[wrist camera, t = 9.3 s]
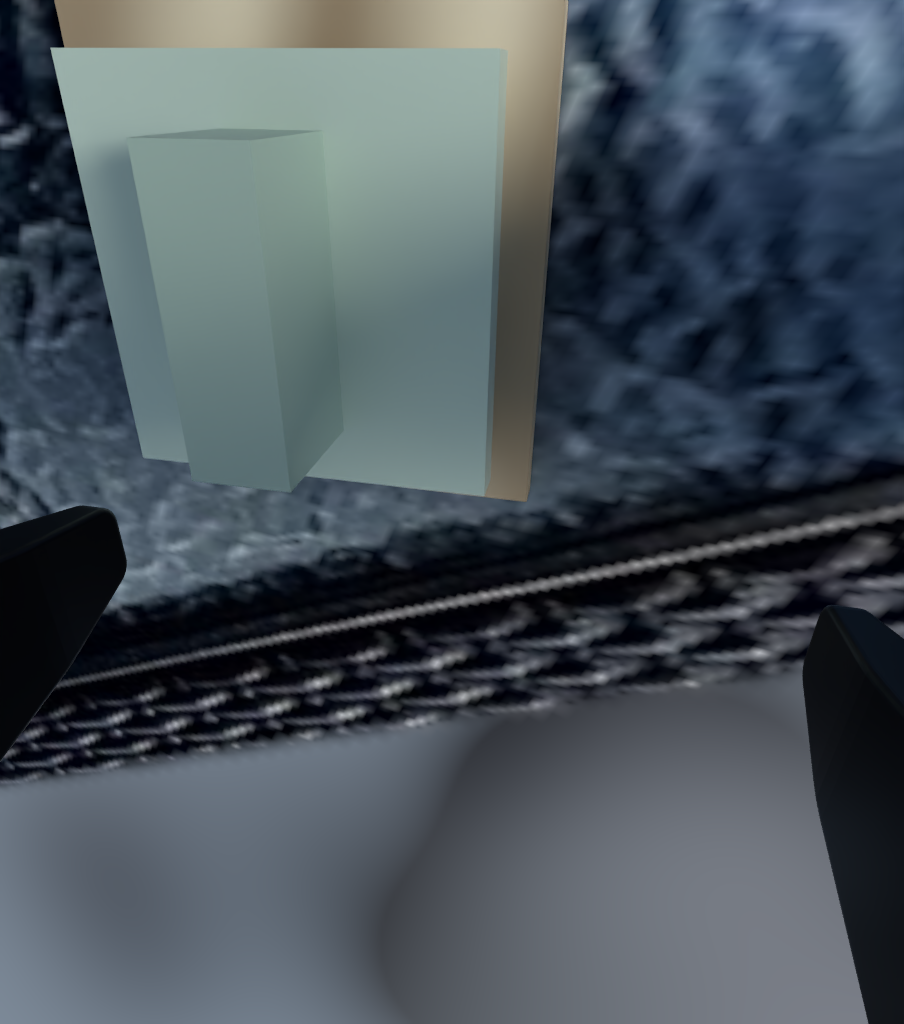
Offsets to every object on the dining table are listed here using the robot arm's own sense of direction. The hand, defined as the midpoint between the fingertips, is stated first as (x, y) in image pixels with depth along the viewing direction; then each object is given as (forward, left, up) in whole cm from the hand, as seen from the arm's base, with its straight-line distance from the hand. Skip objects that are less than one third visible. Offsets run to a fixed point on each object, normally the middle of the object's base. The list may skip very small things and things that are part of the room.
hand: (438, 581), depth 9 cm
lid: (+6, -1, -11) cm, 13 cm away
